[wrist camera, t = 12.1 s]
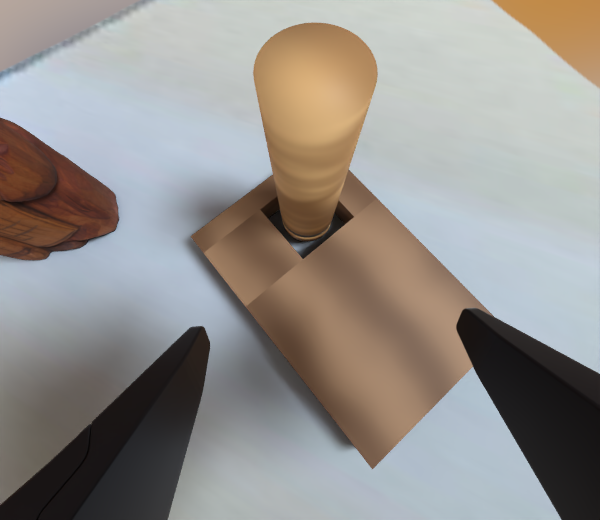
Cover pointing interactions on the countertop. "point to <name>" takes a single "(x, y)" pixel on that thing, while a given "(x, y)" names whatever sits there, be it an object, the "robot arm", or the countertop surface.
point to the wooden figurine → (47, 199)
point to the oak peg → (312, 117)
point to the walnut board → (349, 310)
